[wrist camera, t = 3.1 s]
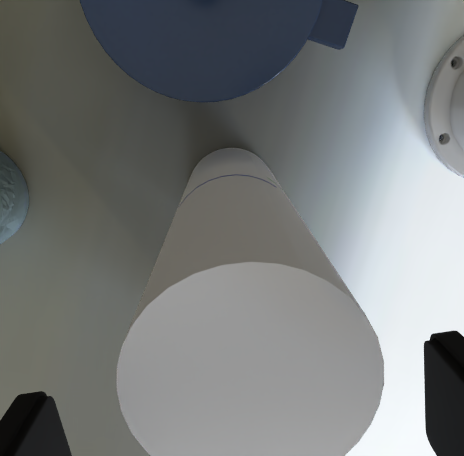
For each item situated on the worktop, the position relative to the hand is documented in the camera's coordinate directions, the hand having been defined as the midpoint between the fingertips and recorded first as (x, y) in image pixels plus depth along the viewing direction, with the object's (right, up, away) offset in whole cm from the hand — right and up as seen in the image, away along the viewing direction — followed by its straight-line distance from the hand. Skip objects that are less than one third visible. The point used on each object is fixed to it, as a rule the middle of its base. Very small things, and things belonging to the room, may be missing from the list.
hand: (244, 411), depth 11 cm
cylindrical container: (0, +8, +25) cm, 26 cm away
